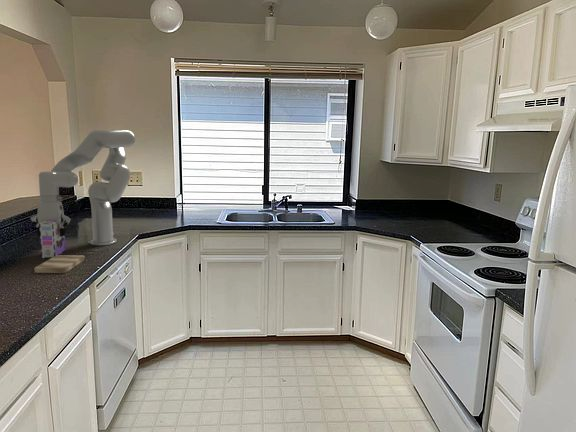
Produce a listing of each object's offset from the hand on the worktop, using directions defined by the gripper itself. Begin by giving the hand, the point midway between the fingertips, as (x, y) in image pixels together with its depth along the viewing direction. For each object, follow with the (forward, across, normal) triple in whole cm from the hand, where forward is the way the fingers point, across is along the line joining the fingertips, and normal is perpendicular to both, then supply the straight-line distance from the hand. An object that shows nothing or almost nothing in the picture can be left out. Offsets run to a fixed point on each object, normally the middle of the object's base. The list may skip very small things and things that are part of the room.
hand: (51, 235), depth 188 cm
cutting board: (+9, -12, +16) cm, 22 cm away
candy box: (+9, 0, -1) cm, 9 cm away
